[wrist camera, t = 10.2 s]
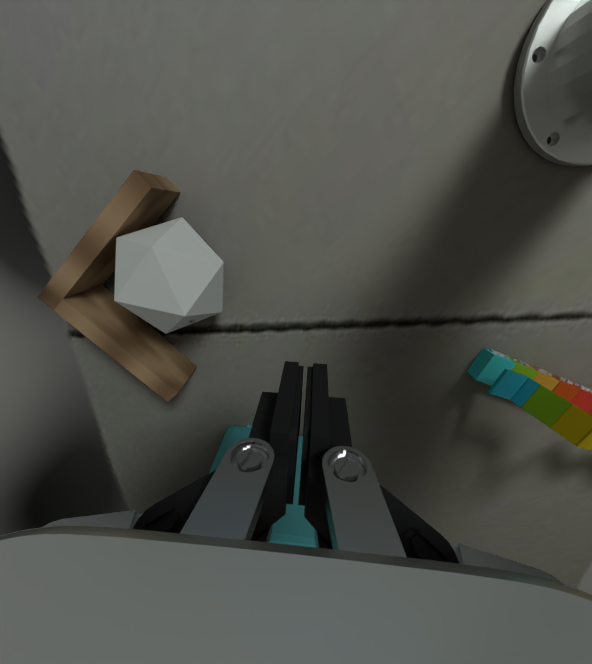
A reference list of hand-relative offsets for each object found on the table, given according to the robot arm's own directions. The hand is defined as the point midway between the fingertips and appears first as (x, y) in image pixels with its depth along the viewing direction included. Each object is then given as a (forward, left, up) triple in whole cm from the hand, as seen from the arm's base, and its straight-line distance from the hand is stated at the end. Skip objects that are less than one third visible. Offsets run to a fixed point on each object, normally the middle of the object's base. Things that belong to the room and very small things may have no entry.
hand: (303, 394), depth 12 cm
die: (+11, -1, -18) cm, 21 cm away
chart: (-32, +11, -18) cm, 38 cm away
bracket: (+17, +1, -17) cm, 24 cm away
